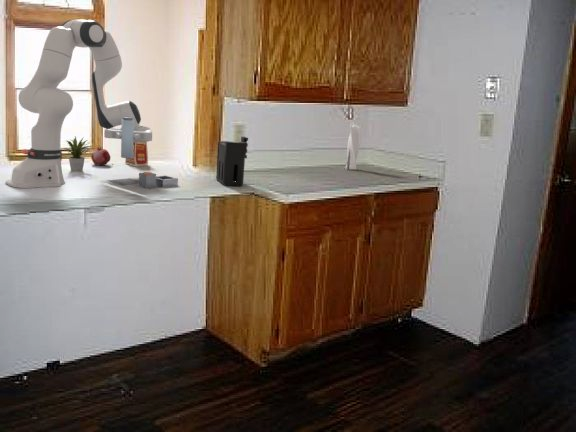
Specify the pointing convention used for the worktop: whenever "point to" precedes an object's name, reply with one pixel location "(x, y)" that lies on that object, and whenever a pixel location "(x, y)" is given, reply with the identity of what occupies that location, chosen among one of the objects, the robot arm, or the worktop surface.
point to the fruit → (100, 156)
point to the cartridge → (127, 137)
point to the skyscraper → (353, 147)
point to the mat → (125, 181)
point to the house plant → (77, 155)
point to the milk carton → (138, 154)
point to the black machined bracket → (231, 162)
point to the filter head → (156, 181)
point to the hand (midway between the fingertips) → (127, 136)
